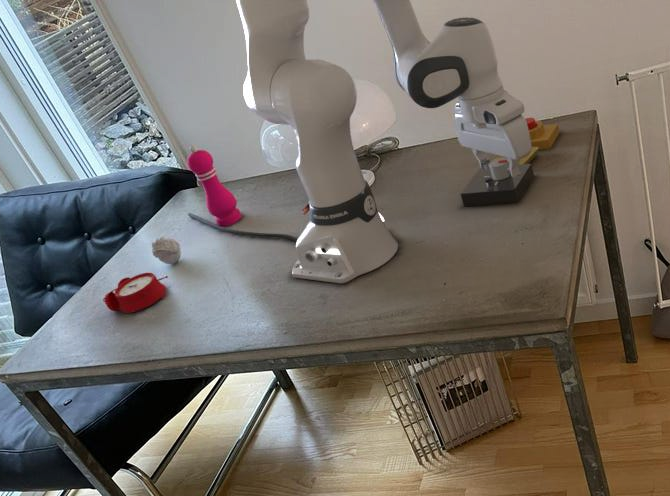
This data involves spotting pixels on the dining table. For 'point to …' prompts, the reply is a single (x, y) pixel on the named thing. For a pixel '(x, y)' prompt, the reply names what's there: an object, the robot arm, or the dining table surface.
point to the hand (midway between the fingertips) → (499, 171)
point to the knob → (499, 168)
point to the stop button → (530, 123)
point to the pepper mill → (213, 188)
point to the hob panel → (496, 187)
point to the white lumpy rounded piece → (166, 250)
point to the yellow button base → (543, 135)
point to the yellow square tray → (527, 158)
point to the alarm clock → (135, 293)
